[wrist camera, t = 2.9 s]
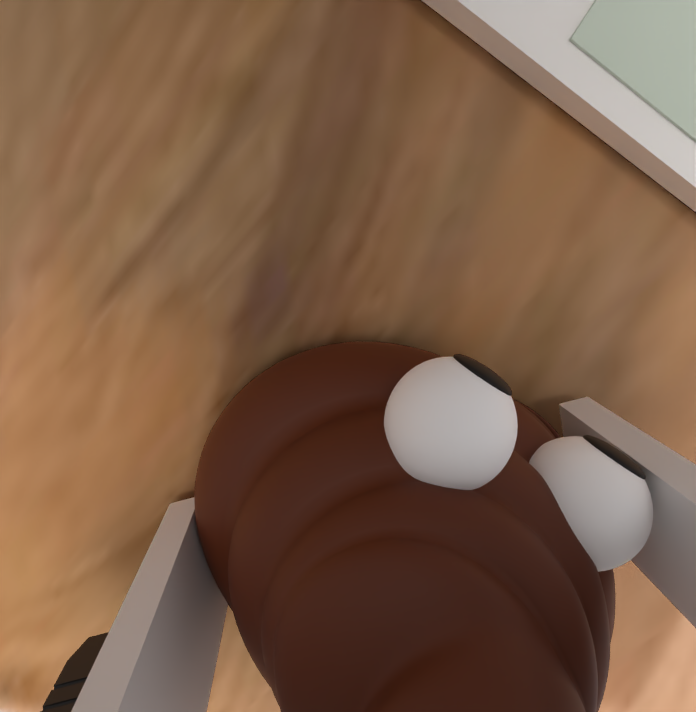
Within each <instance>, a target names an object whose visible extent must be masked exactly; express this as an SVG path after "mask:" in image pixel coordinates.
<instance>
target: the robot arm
mask: <svg viewBox="0 0 696 712" xmlns="http://www.w3.org/2000/svg"><path fill="white" fill-rule="evenodd" d="M559 411H560V417H561V424H562V431H563V437H569V436H580V437H583V436H584V435H591V436H594V437H596V438H599V439H601V440H603V441H605V442H607V443H608V444H610V445H612V446H613V447H615V448H616V449H618V450H619V451H621V452H622V453H624V454H625V455H626V456H628V457H629V458H630V459H631V460H632V461H634V462H635V463H636V464H637V465H638V466H639V467H640V468H641V469H642V471H643V472H644V474H645V476H646V479H645V481H646V483H647V486H648V488H649V491H650V494H651V498H652V503H653V523H652V528H651V532H650V534H649V537H648V539H647V541H646V543H645V545H644V546H643V548H642V549H641V550H640V551H639V553H638V554H637V555H636V556H635V557H633V558H632V559H631V561H632V562H633V563H634V564H635V565H636V566H637V567H638V568H639V569H640V570H641V571H642V572H643V573H644V574H645V575H646V576H647V577H648V578H649V579H650V581H651V582H652V583H653V584H654V585H655V586H656V587H657V588H658V589H659V590H660V591H661V592H662V593H663V594H664V595H665V596H666V597H667V598H668V599H669V600H670V602H671V603H672V604H673V605H674V606H675V607H676V608H677V609H678V610H679V611H680V612H681V613H682V614H683V615H684V616H685V617H686V618H687V619H688V620H689V621H690V622H691V624H692V625H693V626H694V627H695V628H696V464H694V463H692V462H691V461H689V460H688V459H686V458H685V457H683V456H681V455H680V454H678V453H677V452H675V451H673V450H672V449H670V448H669V447H667V446H665V445H664V444H662V443H661V442H659V441H657V440H656V439H654V438H653V437H651V436H650V435H648V434H646V433H645V432H643V431H642V430H640V429H638V428H637V427H635V426H634V425H632V424H630V423H629V422H627V421H626V420H624V419H623V418H621V417H619V416H618V415H616V414H615V413H613V412H611V411H610V410H608V409H607V408H605V407H603V406H602V405H600V404H599V403H597V402H596V401H594V400H592V399H591V398H589V397H584V398H580V399H576V400H572V401H568V402H564V403H560V404H559ZM227 607H228V603H227V602H226V600H225V598H224V597H223V595H222V593H221V591H220V590H219V588H218V586H217V584H216V582H215V580H214V578H213V576H212V574H211V571H210V569H209V567H208V564H207V562H206V559H205V556H204V553H203V550H202V547H201V543H200V539H199V535H198V530H197V525H196V517H195V503H194V497H193V498H189V499H185V500H181V501H177V502H173V503H170V505H169V507H168V509H167V511H166V513H165V515H164V517H163V519H162V521H161V523H160V526H159V528H158V530H157V532H156V534H155V536H154V538H153V540H152V542H151V544H150V547H149V549H148V551H147V553H146V555H145V557H144V559H143V561H142V563H141V566H140V568H139V570H138V572H137V574H136V576H135V578H134V580H133V582H132V584H131V587H130V589H129V591H128V593H127V595H126V597H125V599H124V601H123V603H122V606H121V608H120V610H119V612H118V614H117V616H116V618H115V620H114V622H113V624H112V627H111V629H110V631H109V632H108V633H104V634H100V635H96V636H92V637H89V638H88V639H87V640H86V641H85V642H84V643H83V644H82V645H81V647H80V648H79V649H78V650H77V651H76V652H75V653H74V654H73V655H72V656H71V657H70V659H69V660H68V661H67V662H66V664H65V666H64V668H63V670H62V672H61V674H60V675H59V677H58V679H57V681H56V683H55V685H54V690H51V692H50V694H49V696H48V698H47V700H46V701H45V703H44V705H43V711H41V712H207V707H208V702H209V697H210V692H211V687H212V682H213V677H214V672H215V667H216V662H217V657H218V652H219V647H220V642H221V637H222V632H223V627H224V622H225V617H226V612H227Z"/></svg>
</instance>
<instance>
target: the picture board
mask: <svg viewBox="0 0 696 712" xmlns="http://www.w3.org/2000/svg"><path fill="white" fill-rule="evenodd" d="M422 1H423V2H424V3H426V4H427V5H428V6H430V7H431V8H432V9H433V10H435V11H436V12H437V13H439V14H440V15H441V16H442V17H444V18H445V19H446V20H448V21H449V22H450V23H451V24H453V25H454V26H455V27H457V28H458V29H459V30H461V31H462V32H463V33H464V34H466V35H467V36H468V37H470V38H471V39H472V40H473V41H475V42H476V43H477V44H479V45H480V46H481V47H483V48H484V49H485V50H486V51H488V52H489V53H490V54H492V55H493V56H494V57H495V58H497V59H498V60H499V61H501V62H502V63H503V64H505V65H506V66H507V67H508V68H510V69H511V70H512V71H514V72H515V73H516V74H517V75H519V76H520V77H521V78H523V79H524V80H525V81H527V82H528V83H529V84H530V85H532V86H533V87H534V88H536V89H537V90H538V91H539V92H541V93H542V94H543V95H545V96H546V97H547V98H549V99H550V100H551V101H552V102H554V103H555V104H556V105H558V106H559V107H560V108H561V109H563V110H564V111H565V112H567V113H568V114H569V115H570V116H572V117H573V118H574V119H576V120H577V121H578V122H580V123H581V124H582V125H583V126H585V127H586V128H587V129H589V130H590V131H591V132H592V133H594V134H595V135H596V136H598V137H599V138H600V139H602V140H603V141H604V142H605V143H607V144H608V145H609V146H611V147H612V148H613V149H614V150H616V151H617V152H618V153H620V154H621V155H622V156H624V157H625V158H626V159H627V160H629V161H630V162H631V163H633V164H634V165H635V166H636V167H638V168H639V169H640V170H642V171H643V172H644V173H646V174H647V175H648V176H649V177H651V178H652V179H653V180H655V181H656V182H657V183H658V184H660V185H661V186H662V187H664V188H665V189H666V190H668V191H669V192H670V193H671V194H673V195H674V196H675V197H677V198H678V199H679V200H680V201H682V202H683V203H684V204H686V205H687V206H688V207H689V208H691V209H692V210H693V211H695V212H696V0H422Z"/></svg>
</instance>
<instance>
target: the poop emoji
mask: <svg viewBox="0 0 696 712" xmlns="http://www.w3.org/2000/svg"><path fill="white" fill-rule="evenodd" d="M511 395H512V391H511V389H510V387H509V386H508V385H507V383H506V382H505V381H504V380H503V379H502V378H500V377H499V376H498V375H497V374H496V373H494V372H493V371H492V370H490V369H489V368H488V367H486V366H485V365H483V364H481V363H479V362H478V361H476V360H474V359H472V358H469V357H467V356H464V355H460V354H456V355H454V356H453V357H442V356H440V355H437V354H434V353H431V352H428V351H425V350H421V349H417V348H413V347H409V346H404V345H398V344H392V343H383V342H345V343H337V344H330V345H325V346H321V347H317V348H313V349H310V350H307V351H304V352H301V353H298V354H296V355H293V356H291V357H289V358H287V359H285V360H283V361H281V362H279V363H277V364H275V365H273V366H272V367H270V368H269V369H267V370H265V371H264V372H262V373H261V374H260V375H258V376H257V377H256V378H254V379H253V380H252V381H251V382H250V383H248V384H247V385H246V386H245V387H244V388H243V389H242V390H241V391H240V392H239V393H238V394H237V395H236V396H235V397H234V398H233V399H232V401H231V402H230V403H229V404H228V405H227V407H226V408H225V409H224V411H223V412H222V413H221V415H220V416H219V418H218V420H217V421H216V423H215V425H214V426H213V428H212V430H211V432H210V434H209V436H208V438H207V441H206V443H205V445H204V448H203V451H202V454H201V457H200V461H199V465H198V469H197V475H196V481H195V496H194V503H195V517H196V525H197V530H198V535H199V539H200V543H201V547H202V550H203V553H204V556H205V559H206V562H207V564H208V567H209V569H210V571H211V574H212V576H213V578H214V580H215V582H216V584H217V586H218V588H219V590H220V591H221V593H222V595H223V597H224V598H225V600H226V602H227V603H228V605H229V606H230V608H231V609H232V611H233V613H234V616H235V620H236V623H237V626H238V629H239V632H240V634H241V637H242V639H243V641H244V644H245V646H246V648H247V650H248V652H249V654H250V656H251V658H252V659H253V661H254V663H255V665H256V666H257V668H258V670H259V671H260V673H261V674H262V676H263V677H264V679H265V680H266V681H267V683H268V684H269V686H270V687H271V688H272V691H273V693H274V696H275V698H276V700H277V702H278V704H279V706H280V709H281V712H598V710H599V707H600V704H601V701H602V698H603V695H604V691H605V687H606V682H607V677H608V670H609V660H610V642H611V638H612V633H613V627H614V618H615V583H614V573H613V569H614V568H617V567H619V566H621V565H623V564H625V563H627V562H628V561H630V560H631V559H632V558H633V557H635V556H636V555H637V554H638V553H639V551H640V550H641V549H642V548H643V546H644V545H645V543H646V541H647V539H648V537H649V534H650V532H651V528H652V523H653V503H652V498H651V494H650V491H649V488H648V486H647V483H646V481H645V479H646V476H645V474H644V472H643V471H642V469H641V468H640V467H639V466H638V465H637V464H636V463H635V462H634V461H632V460H631V459H630V458H629V457H628V456H626V455H625V454H624V453H622V452H621V451H619V450H618V449H616V448H615V447H613V446H612V445H610V444H608V443H607V442H605V441H603V440H601V439H599V438H596V437H594V436H591V435H584V436H583V437H580V436H569V437H560V436H559V434H558V433H557V432H556V431H555V429H554V428H553V427H552V426H551V425H550V424H549V423H548V422H547V421H546V420H545V419H543V418H542V417H541V416H540V415H538V414H537V413H536V412H534V411H533V410H532V409H530V408H529V407H527V406H525V405H524V404H522V403H520V402H518V401H516V400H514V399H512V397H511Z"/></svg>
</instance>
